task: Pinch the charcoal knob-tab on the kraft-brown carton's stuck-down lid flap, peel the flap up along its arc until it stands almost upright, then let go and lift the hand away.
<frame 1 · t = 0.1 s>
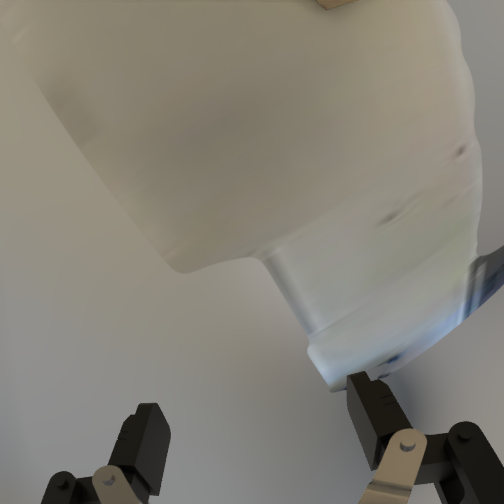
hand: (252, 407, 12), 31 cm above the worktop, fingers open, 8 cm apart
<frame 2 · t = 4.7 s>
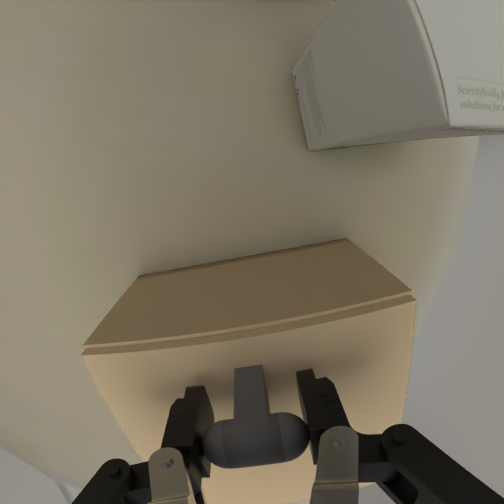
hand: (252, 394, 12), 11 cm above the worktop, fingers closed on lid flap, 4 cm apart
carton: (259, 348, 25), on the worktop
skincare box: (351, 102, 20), on the worktop
lid flap: (271, 476, 13), point 13 cm above the worktop, hinge at 0.0°, touching gripper
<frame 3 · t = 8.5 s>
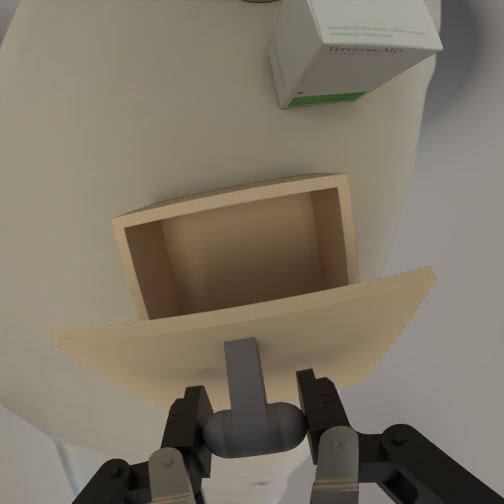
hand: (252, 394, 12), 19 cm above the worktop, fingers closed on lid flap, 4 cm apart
carton: (246, 267, 31), on the worktop
skincare box: (313, 75, 27), on the worktop
lid flap: (262, 412, 15), point 17 cm above the worktop, hinge at 37.5°, touching gripper
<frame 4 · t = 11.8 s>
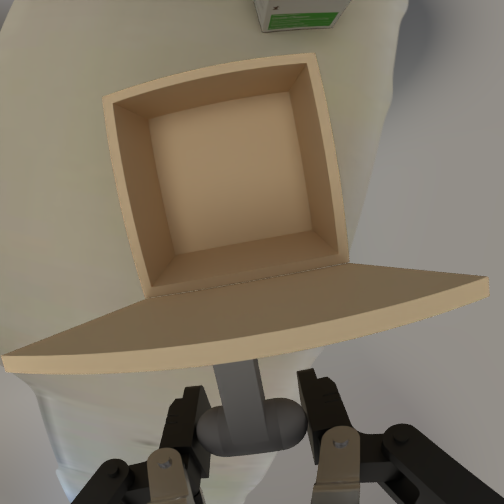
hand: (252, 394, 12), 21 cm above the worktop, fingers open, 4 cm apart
carton: (230, 172, 31), on the worktop
skincare box: (292, 7, 26), on the worktop
lid flap: (248, 346, 15), point 18 cm above the worktop, hinge at 74.2°
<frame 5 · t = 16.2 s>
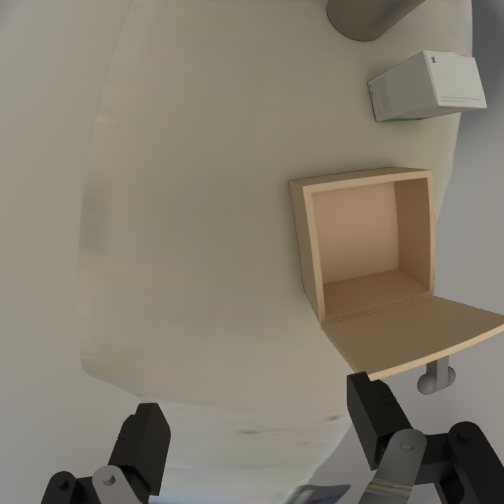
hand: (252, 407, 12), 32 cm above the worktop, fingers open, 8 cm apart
carton: (351, 228, 43), on the worktop
skincare box: (394, 99, 38), on the worktop
lid flap: (411, 347, 28), point 18 cm above the worktop, hinge at 74.6°
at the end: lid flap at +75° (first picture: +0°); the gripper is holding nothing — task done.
